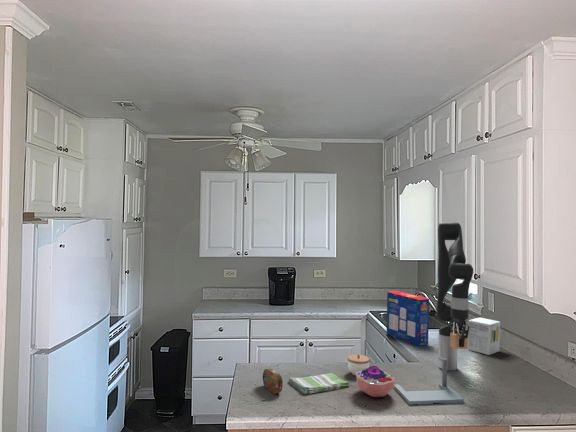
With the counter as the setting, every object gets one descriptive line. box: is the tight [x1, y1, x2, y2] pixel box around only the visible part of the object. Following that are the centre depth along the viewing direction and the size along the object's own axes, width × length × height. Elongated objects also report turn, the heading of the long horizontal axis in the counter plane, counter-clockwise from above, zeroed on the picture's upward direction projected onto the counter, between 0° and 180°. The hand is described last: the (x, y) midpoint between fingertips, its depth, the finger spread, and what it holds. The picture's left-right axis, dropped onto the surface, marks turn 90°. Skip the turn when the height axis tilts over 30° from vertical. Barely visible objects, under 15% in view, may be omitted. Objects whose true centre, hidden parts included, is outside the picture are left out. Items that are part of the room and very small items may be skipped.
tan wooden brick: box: [450, 333, 468, 350], centre depth 205 cm, size 5×6×6 cm
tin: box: [262, 368, 284, 395], centre depth 201 cm, size 15×3×8 cm, turn 29°
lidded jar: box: [347, 354, 370, 376], centre depth 223 cm, size 11×11×9 cm
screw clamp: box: [393, 357, 465, 406], centre depth 200 cm, size 20×24×14 cm
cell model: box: [355, 365, 396, 398], centre depth 199 cm, size 17×20×11 cm
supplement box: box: [467, 317, 501, 356], centre depth 266 cm, size 13×13×18 cm
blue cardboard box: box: [386, 290, 430, 347], centre depth 286 cm, size 28×8×28 cm, turn 30°
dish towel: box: [288, 372, 350, 395], centre depth 208 cm, size 17×23×4 cm
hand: (458, 345), depth 205 cm, fingers closed on tan wooden brick, 4 cm apart
